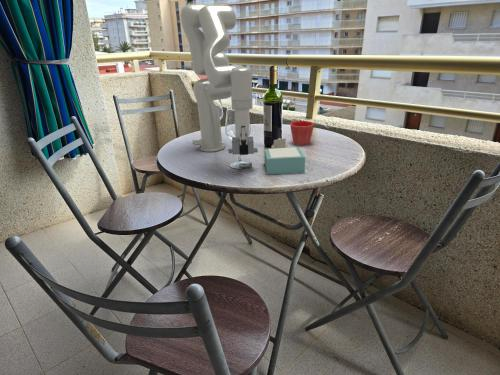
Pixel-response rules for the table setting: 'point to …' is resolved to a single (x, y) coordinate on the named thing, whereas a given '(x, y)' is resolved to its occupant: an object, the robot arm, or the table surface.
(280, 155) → the stand
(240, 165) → the bolt
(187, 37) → the robot arm
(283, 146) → the architectural model
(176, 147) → the table surface
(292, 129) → the flower pot
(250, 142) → the block
